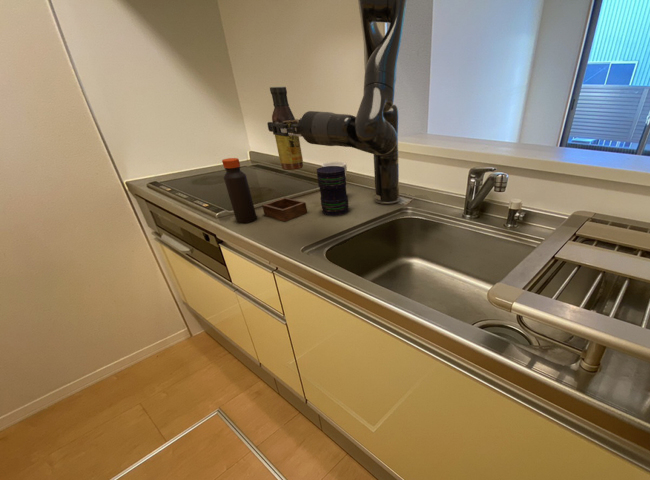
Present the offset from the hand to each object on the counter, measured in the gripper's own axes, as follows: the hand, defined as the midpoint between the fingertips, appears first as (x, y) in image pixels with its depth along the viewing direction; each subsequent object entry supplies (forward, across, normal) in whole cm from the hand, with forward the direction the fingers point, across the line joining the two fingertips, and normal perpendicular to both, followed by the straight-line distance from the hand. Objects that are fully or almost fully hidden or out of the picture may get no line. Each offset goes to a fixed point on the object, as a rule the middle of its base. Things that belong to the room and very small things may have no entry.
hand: (279, 125), depth 92 cm
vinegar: (+24, +3, +31) cm, 39 cm away
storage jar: (+4, -20, +31) cm, 38 cm away
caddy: (+17, -9, +31) cm, 36 cm away
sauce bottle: (-2, 0, +11) cm, 11 cm away
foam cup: (+14, -33, +31) cm, 48 cm away
